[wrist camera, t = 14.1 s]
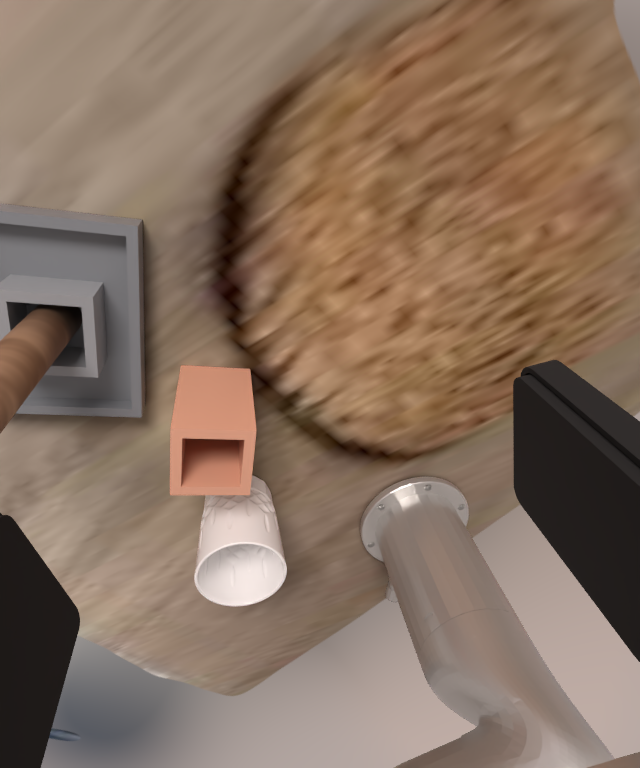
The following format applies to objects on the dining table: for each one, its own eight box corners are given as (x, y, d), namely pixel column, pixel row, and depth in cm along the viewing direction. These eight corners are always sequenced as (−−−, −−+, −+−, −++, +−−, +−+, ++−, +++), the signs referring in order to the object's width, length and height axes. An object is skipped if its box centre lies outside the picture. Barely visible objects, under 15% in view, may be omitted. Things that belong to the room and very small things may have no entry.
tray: (145, 403, 45) (138, 431, 41) (-4, 397, 42) (-27, 426, 38) (142, 219, 38) (133, 232, 34) (-39, 199, 35) (-71, 210, 31)
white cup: (193, 523, 52) (187, 604, 44) (206, 463, 49) (203, 538, 40) (267, 529, 55) (275, 608, 46) (284, 472, 51) (296, 546, 43)
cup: (245, 425, 48) (249, 495, 39) (179, 423, 46) (169, 495, 38) (250, 369, 45) (256, 431, 36) (181, 365, 44) (170, 428, 35)
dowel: (83, 336, 40) (-8, 465, 25) (39, 333, 39) (-80, 463, 24) (80, 298, 38) (-17, 410, 24) (35, 293, 38) (-94, 407, 23)
